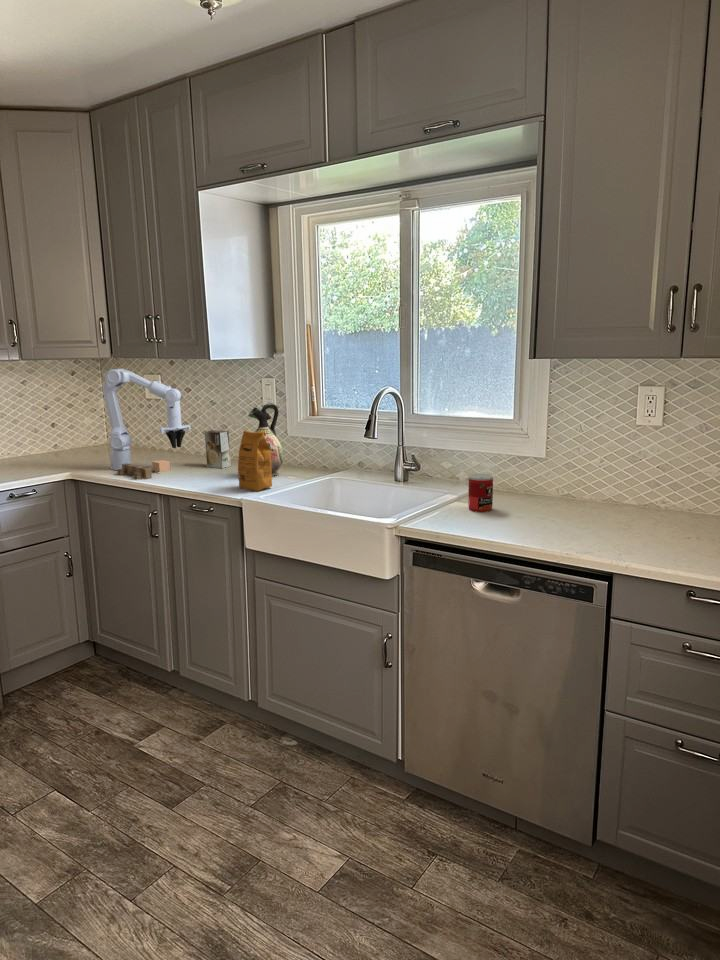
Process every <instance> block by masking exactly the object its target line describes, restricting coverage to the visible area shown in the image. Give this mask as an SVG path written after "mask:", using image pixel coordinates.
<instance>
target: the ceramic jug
mask: <svg viewBox="0 0 720 960" xmlns="http://www.w3.org/2000/svg"><path fill="white" fill-rule="evenodd" d="M268 409H272V410H273V416H272V417H273V418H272V417H271V415H270V414H269V413H268V412H267V410H268ZM279 412H280V411H279V407H278V406H277V404H275V403H272V402H270V403H266V404H264V405H263V407H262V408H261V409H259V408H258V407H254V408H253V409H252V410H250V412H249V413H248V417H250V418H253V419H255V420H257V421H258V423H259V424H258V427H257V429H256V430H255V432H265V434H266V435H265V436H264V437H265V439H266V441H267V443H268V445H269V447H270V450H271V469H272V473H271V474H272V477H275V476H277V475H278V471H279V469H280V468H281V467H282V465H283V463H284V452H283V446H282V444H281V443H280V441H279V439H278V437H277V433H276V430H275V428H276V425H277V422H278V417H279ZM268 420H272V422H271V424H270V425H269V424H268ZM276 474H277V475H276ZM274 475H275V476H274Z"/></svg>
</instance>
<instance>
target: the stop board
mask: <svg viewBox="0 0 720 960" xmlns="http://www.w3.org/2000/svg"><path fill="white" fill-rule="evenodd" d="M125 474H126V475H128V474H129V476H132V475H133V478H134V480H137V479H138V480H143V479H142V478H144V479H145V480H148V478H149V479H153V478H152V468H149V467H145V466H142V465H137V464H136V465H135V464H132V463H131V464H128V463H125V464H122V469H118V470H117V475H118V476H125Z"/></svg>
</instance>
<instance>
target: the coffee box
mask: <svg viewBox="0 0 720 960" xmlns="http://www.w3.org/2000/svg"><path fill="white" fill-rule="evenodd" d="M229 433H230V432H229V430H218V429H212V430H207V431H204V443H205V455H206V467H207V468H212V467H213V468H215V469H226V468H229V467H231V466H232V464H231V452H230V451H231V450H230V449H231V448H230V435H229ZM225 467H226V468H225Z"/></svg>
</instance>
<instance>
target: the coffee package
mask: <svg viewBox="0 0 720 960" xmlns="http://www.w3.org/2000/svg"><path fill="white" fill-rule="evenodd" d="M265 435H266V434H265V432H254V431H253V432H251V431H249V430H247V429H244V430H243V433H242V437H241V441H240V445H239V448H238V449H239V450H238V458H237V460H238V461H237V463H238V464H237V465H238V466H237V475H238V485H239V486H238V487H239V489H240V488H244V489H245V490H246V489H247V490H246V491H248V490H253V491H252V492H260V491H262V490H264V489H268V488H271V487H272V486H273V476H272V474H271V473H272V469H271V450H270V447H269V445H268V443H267V441H266V439H265V437H264V436H265ZM244 489H243V490H244Z"/></svg>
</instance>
